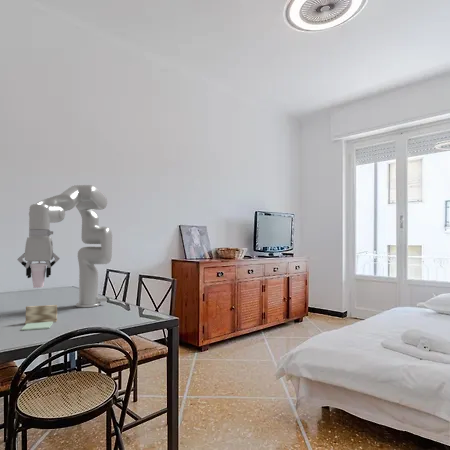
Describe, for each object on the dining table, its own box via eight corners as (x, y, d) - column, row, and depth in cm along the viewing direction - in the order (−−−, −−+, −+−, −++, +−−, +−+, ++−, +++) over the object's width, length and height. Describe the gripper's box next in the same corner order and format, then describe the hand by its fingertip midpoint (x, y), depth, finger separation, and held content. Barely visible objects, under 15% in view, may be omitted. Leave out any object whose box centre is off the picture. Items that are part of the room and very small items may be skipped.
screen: (57, 320, 157) (57, 304, 157) (56, 321, 154) (56, 305, 154) (26, 322, 153) (27, 306, 153) (25, 324, 150) (25, 307, 150)
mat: (53, 322, 152) (53, 321, 152) (49, 328, 143) (49, 327, 143) (26, 324, 149) (27, 323, 149) (21, 330, 140) (21, 329, 140)
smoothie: (49, 285, 150) (50, 252, 150) (42, 288, 143) (42, 253, 144) (34, 286, 149) (34, 252, 150) (26, 288, 143) (26, 253, 143)
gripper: (63, 234, 153) (62, 275, 153) (18, 234, 148) (17, 277, 147) (60, 233, 146) (60, 277, 146) (13, 233, 141) (12, 279, 140)
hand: (38, 277), depth 146 cm, fingers closed on smoothie, 6 cm apart
